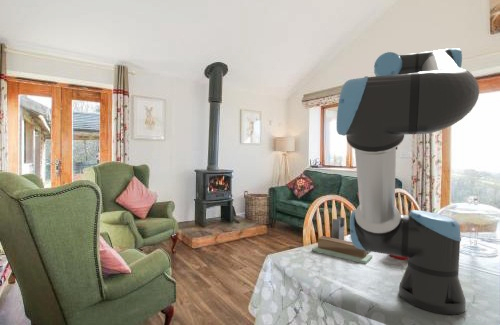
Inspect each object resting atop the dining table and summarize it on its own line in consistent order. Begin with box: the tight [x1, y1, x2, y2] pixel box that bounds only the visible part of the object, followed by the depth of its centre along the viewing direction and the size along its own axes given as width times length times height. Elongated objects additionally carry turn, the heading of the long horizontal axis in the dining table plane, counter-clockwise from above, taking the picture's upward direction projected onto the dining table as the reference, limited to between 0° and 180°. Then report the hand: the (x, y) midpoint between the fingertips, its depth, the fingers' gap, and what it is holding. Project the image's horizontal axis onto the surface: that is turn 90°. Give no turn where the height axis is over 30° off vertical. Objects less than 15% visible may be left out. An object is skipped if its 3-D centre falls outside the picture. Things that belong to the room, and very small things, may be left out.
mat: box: [311, 244, 373, 265], centre depth 112 cm, size 8×21×1 cm, turn 52°
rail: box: [317, 235, 367, 258], centre depth 112 cm, size 4×18×4 cm, turn 53°
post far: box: [331, 216, 346, 240], centre depth 124 cm, size 7×5×12 cm
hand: (385, 167), depth 98 cm, fingers open, 13 cm apart
